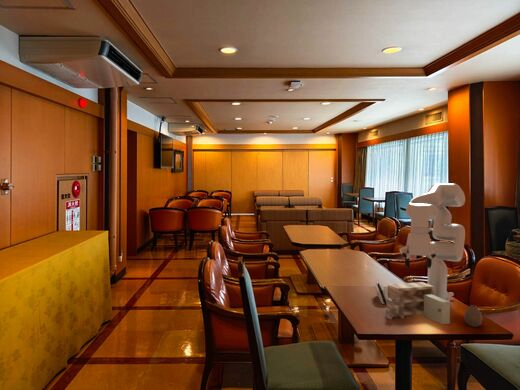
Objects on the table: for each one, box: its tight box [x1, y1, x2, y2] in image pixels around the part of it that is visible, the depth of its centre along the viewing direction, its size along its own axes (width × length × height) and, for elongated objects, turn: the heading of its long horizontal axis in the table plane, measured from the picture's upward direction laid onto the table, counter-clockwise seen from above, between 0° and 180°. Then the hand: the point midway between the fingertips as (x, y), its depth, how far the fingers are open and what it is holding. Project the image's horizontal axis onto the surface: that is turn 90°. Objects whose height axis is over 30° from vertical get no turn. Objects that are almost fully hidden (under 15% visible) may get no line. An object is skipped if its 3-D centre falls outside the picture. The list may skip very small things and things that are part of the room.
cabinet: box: [385, 281, 434, 320], centre depth 183 cm, size 26×11×13 cm, turn 106°
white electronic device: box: [373, 282, 388, 305], centre depth 204 cm, size 17×5×10 cm, turn 171°
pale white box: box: [422, 294, 451, 325], centre depth 176 cm, size 5×12×10 cm, turn 16°
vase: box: [463, 304, 483, 328], centre depth 169 cm, size 7×7×9 cm
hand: (417, 267), depth 179 cm, fingers open, 9 cm apart
